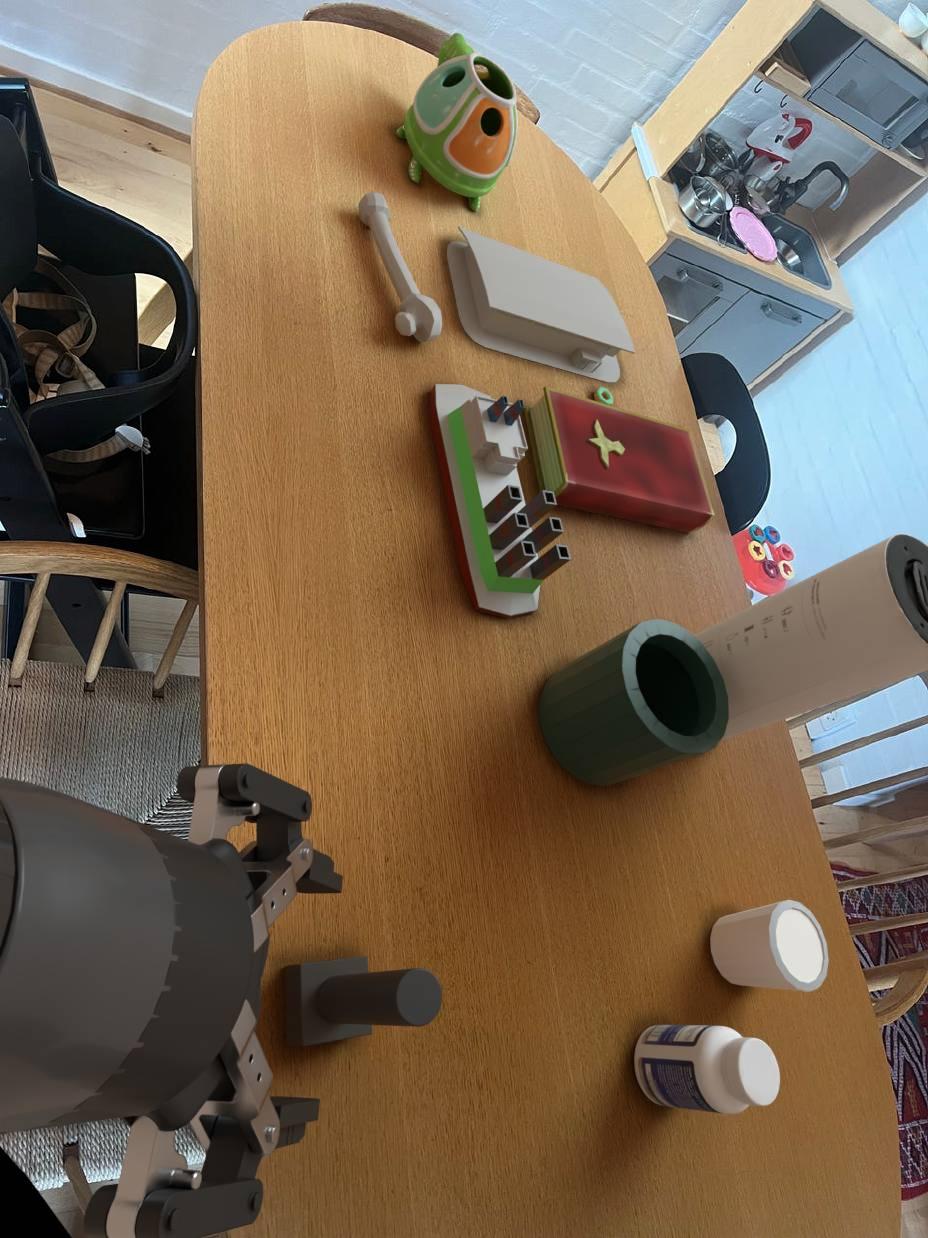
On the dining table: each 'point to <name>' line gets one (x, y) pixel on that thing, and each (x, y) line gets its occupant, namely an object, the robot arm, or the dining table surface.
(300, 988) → the grey peg on base
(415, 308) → the grey knobbed bar
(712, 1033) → the pill bottle
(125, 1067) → the robot arm
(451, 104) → the turtle holder
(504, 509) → the toy boat
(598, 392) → the green looped rod
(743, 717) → the beige cylinder
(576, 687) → the jar
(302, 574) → the dining table surface
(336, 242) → the dining table surface
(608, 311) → the grey tray
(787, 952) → the white tapered cup
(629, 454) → the hardcover book
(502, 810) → the dining table surface
